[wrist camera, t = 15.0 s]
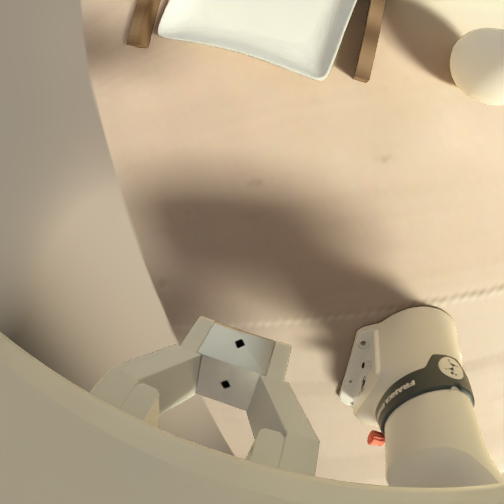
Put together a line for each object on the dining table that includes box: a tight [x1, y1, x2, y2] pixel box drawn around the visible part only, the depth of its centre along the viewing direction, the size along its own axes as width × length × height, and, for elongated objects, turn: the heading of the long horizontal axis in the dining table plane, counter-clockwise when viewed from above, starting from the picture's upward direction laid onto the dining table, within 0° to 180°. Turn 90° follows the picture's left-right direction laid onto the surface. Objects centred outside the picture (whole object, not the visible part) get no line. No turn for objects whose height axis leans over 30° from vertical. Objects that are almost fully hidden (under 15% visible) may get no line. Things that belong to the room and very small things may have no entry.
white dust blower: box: [450, 28, 504, 105], centre depth 18 cm, size 8×8×18 cm
